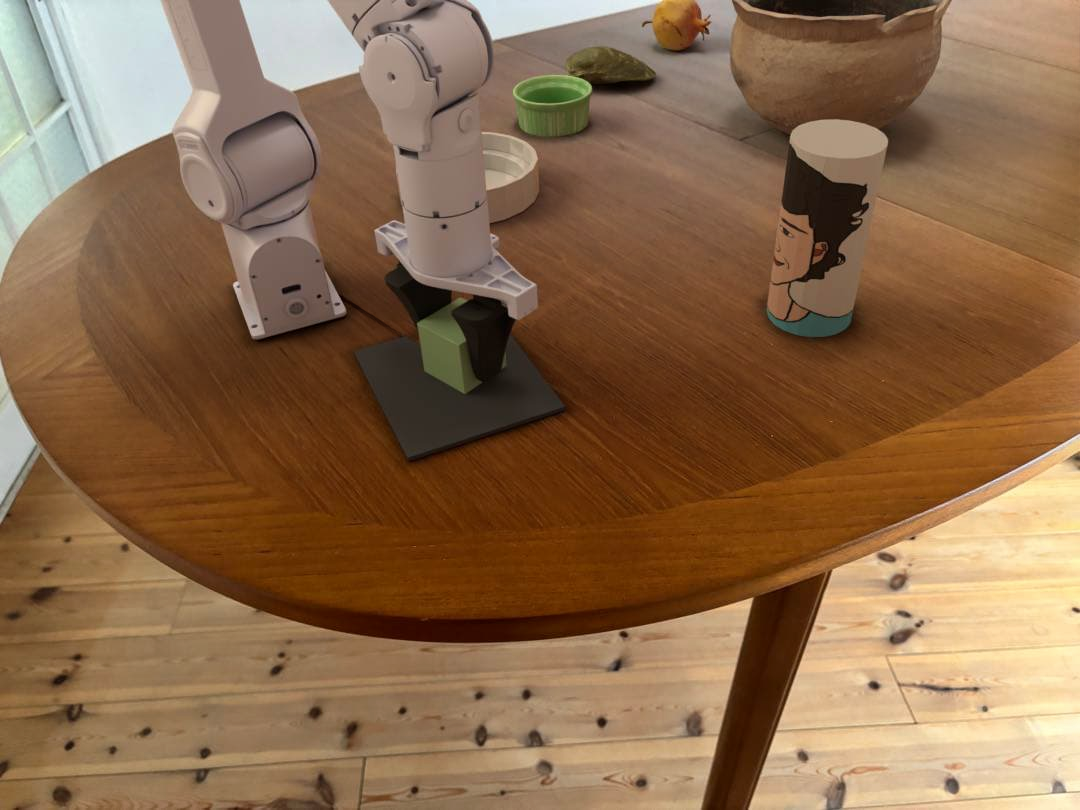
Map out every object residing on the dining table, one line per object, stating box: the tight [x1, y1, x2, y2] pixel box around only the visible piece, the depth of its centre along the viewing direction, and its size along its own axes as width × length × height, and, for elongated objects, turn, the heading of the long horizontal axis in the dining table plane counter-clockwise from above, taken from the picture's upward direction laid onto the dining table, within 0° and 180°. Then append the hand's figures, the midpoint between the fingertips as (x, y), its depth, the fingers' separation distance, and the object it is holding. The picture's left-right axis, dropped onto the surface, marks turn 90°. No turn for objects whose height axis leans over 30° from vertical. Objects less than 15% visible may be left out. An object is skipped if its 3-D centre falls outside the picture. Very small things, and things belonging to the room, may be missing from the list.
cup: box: [766, 119, 889, 338], centre depth 70 cm, size 7×7×15 cm
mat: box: [353, 334, 566, 462], centre depth 70 cm, size 14×12×1 cm
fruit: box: [641, 0, 712, 52], centre depth 123 cm, size 7×7×10 cm
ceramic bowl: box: [729, 0, 953, 136], centre depth 98 cm, size 22×22×15 cm
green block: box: [417, 296, 507, 394], centre depth 69 cm, size 4×4×4 cm
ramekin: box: [512, 74, 593, 138], centre depth 105 cm, size 9×9×4 cm
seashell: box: [564, 45, 657, 85], centre depth 115 cm, size 10×7×10 cm
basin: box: [395, 131, 540, 224], centre depth 92 cm, size 14×14×4 cm
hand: (463, 360), depth 70 cm, fingers open, 5 cm apart
